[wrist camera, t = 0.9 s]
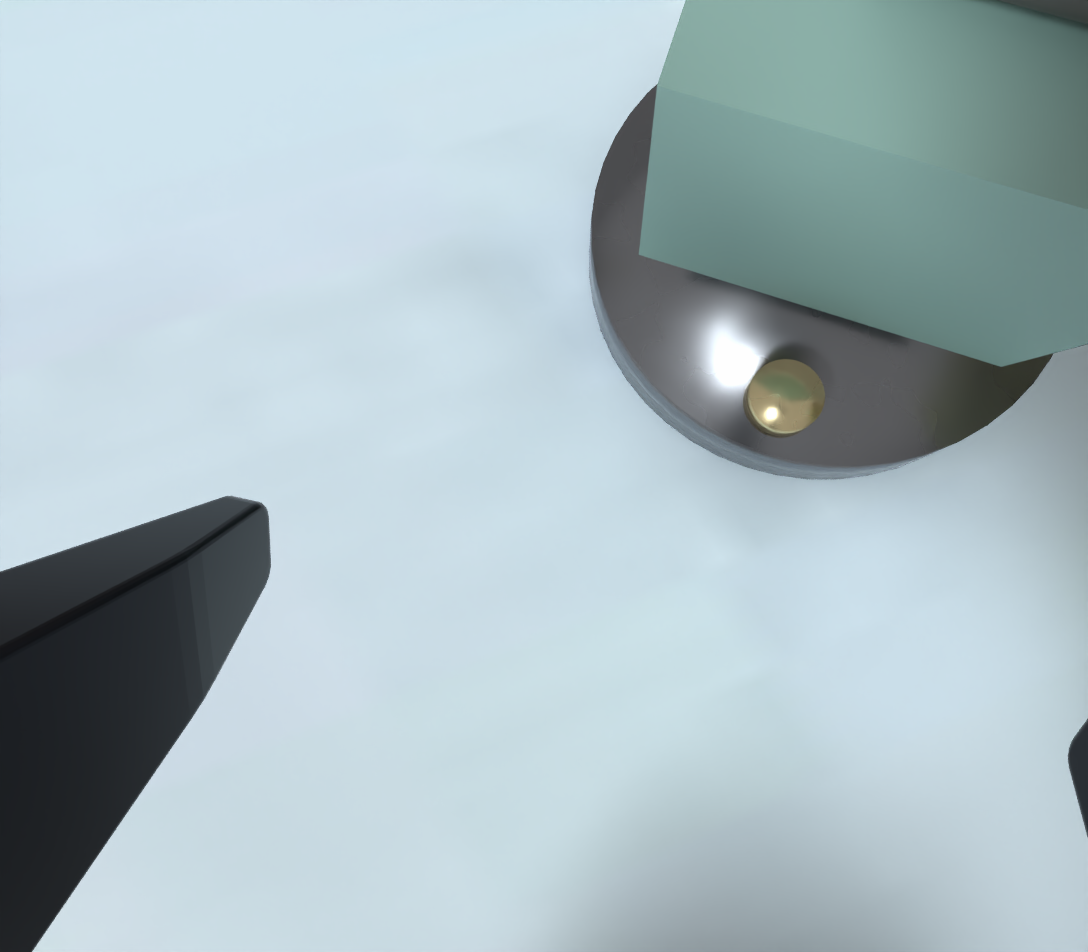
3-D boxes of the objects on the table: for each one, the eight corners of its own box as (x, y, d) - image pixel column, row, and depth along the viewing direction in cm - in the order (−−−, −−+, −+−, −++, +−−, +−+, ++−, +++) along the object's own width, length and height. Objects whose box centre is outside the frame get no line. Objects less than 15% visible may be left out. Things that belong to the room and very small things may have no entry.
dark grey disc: (976, 543, 22) (1035, 532, 19) (528, 394, 23) (523, 364, 20) (1077, 137, 24) (1143, 75, 21) (665, 22, 25) (677, -50, 23)
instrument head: (1001, 366, 19) (1479, 241, 9) (638, 254, 20) (665, 14, 10) (1107, 72, 19) (1741, -439, 8) (734, -30, 20) (873, -608, 9)
